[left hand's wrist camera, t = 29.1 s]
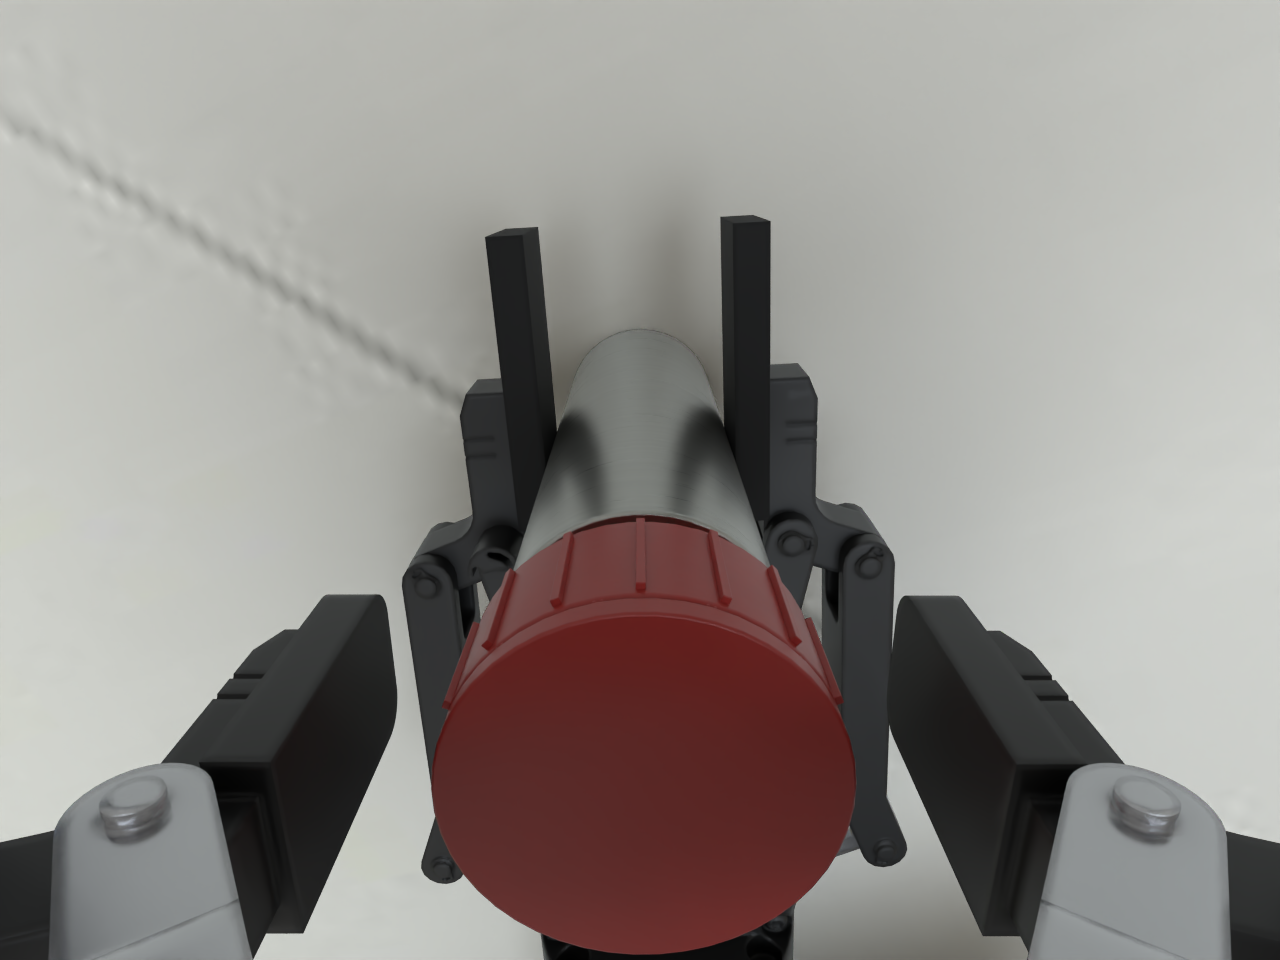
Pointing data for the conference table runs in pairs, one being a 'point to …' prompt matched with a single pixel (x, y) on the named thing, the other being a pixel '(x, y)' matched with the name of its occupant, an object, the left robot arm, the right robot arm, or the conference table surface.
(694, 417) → the silver metal cylinder
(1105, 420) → the conference table surface
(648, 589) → the lid
